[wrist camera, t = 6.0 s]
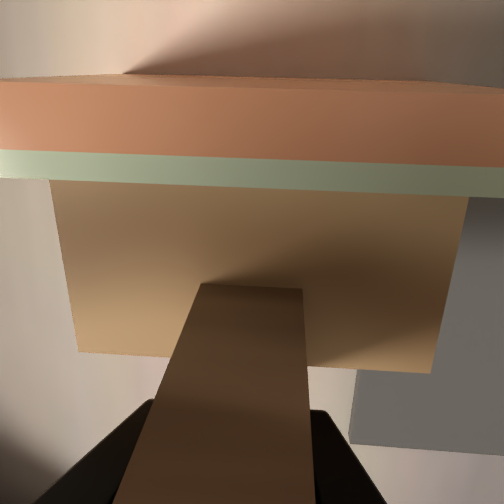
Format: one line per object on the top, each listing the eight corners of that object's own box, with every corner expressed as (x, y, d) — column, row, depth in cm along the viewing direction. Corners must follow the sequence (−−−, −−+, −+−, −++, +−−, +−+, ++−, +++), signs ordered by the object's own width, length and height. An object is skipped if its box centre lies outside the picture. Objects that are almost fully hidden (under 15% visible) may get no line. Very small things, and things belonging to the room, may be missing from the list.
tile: (421, 132, 14) (555, 200, 7) (126, 123, 15) (-28, 176, 8) (429, 80, 14) (587, 96, 7) (122, 73, 15) (-49, 79, 7)
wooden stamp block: (417, 355, 12) (714, 1025, 4) (95, 336, 12) (-288, 874, 4) (456, 164, 10) (1367, 707, 2) (67, 152, 10) (-798, 495, 2)
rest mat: (580, 451, 19) (589, 462, 18) (348, 433, 20) (349, 443, 19) (696, 179, 14) (712, 184, 14) (385, 168, 15) (389, 172, 14)
